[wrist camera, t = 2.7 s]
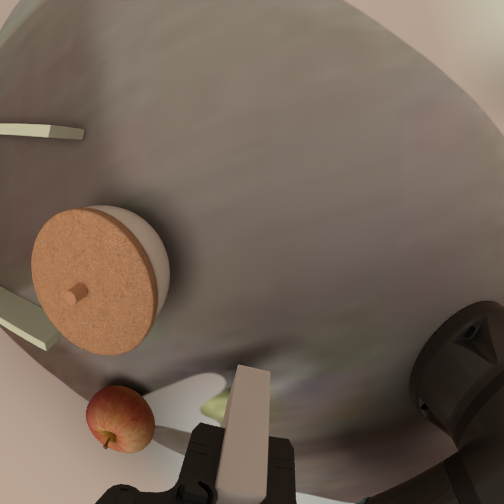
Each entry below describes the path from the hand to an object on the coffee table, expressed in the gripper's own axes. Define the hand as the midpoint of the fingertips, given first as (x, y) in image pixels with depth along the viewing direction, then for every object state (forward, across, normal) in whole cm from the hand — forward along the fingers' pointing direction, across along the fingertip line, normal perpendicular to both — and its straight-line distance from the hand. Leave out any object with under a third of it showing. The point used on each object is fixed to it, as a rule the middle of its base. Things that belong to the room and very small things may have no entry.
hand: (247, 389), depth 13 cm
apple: (+13, +11, +18) cm, 25 cm away
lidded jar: (+13, +12, 0) cm, 17 cm away
